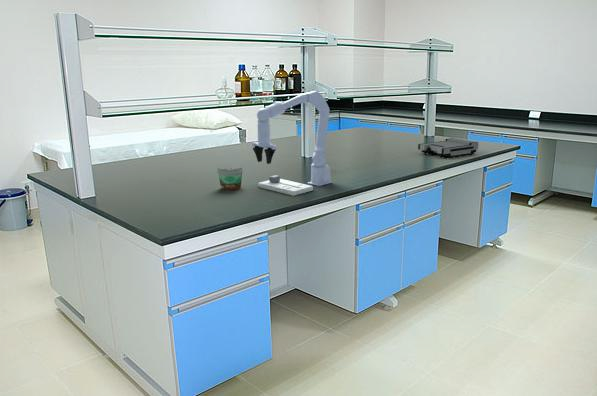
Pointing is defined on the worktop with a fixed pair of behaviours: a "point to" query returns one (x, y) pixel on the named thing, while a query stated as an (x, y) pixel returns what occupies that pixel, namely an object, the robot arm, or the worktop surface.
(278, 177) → the fader tab
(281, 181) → the fader console
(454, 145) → the game console
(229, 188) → the food container
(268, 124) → the robot arm
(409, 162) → the worktop surface
